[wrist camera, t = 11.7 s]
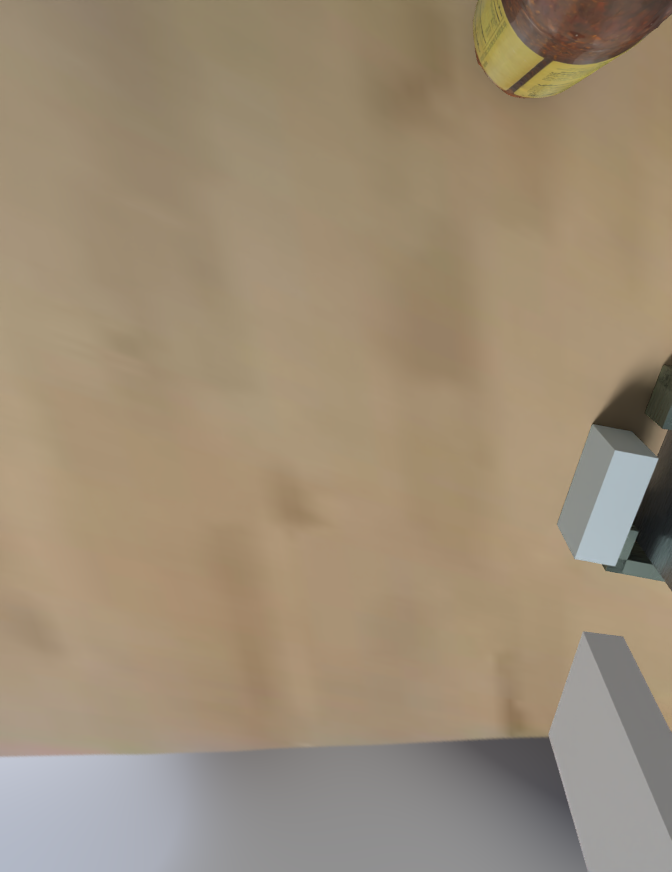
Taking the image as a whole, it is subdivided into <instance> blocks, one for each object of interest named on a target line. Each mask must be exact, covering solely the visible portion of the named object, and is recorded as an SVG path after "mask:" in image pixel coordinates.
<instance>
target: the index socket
mask: <svg viewBox="0 0 672 872" xmlns="http://www.w3.org/2000/svg"><path fill="white" fill-rule="evenodd" d="M645 414H646V415H648V416H649V417H650V418H651V419H652V420H653V421H654V422H655V423H657V424H658V425H659V426H660V427H661V428H662V429H668V430H672V366H667V365H663V367H662V370H661V372H660V375H659V378H658V380H657V383H656V385H655V388H654V391H653V393H652V396H651V398H650V401H649V404H648V406H647V409H646V412H645ZM638 533H639V531H638V530H637V529H636V527H635V526H634V524H633V523H632V526H631V528H630V531H629V533H628V536H627V538H626V541H625V543H624V546H623V548H622V551H621V553H620V556H619V558H618V561H617V563H616V566H610V565H605V564H602V565H603V567H604V569H605V571H610V572H615V573H621V574H626V575H632V576H637V577H642V578H648V579H653V580H659V581H664V579H663V578H662V576H661V575H660V574H659V572H658V571H657V569H656V568H655V567H654V565H653V564H652V562H651V561H650V559H649V558H648V557H647V555H646V554H645V552H644V551H643V549H642V548H641V547H640V545H639V544H638V543H635V540H636V537H637V535H638ZM664 582H665V581H664Z"/></svg>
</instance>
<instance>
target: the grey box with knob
mask: <svg viewBox="0 0 672 872" xmlns="http://www.w3.org/2000/svg"><path fill="white" fill-rule="evenodd" d="M657 457H658V458H659V459H658V461H657V464H656V466H655V469H654V471H653V474H652V476H651V479H650V481H649V484H648V486H647V489H646V491H645V494H644V496H643V499H642V501H641V504H640V506H639V509H638V511H637V513H636V516H635V518H634V521H633V524H634V526H635V527H636V529H637V530H638V531H639V533H638V535H637V537H636V541H637V542H638V544H639V545H640V547H641V548H642V549H643V551H644V552H645V554H646V555H647V557H648V558H649V559H650V561H651V562H652V564H653V565H654V567H655V568H656V569H657V571H658V572H659V574H660V575H661V576H662V578H663V579H664V581H665V582H666V584H667V585H668V586H669V588H670V589H671V591H672V430H668V431H667V434H666V436H665V439H664V441H663V443H662V446H661V448H660V451H659V453H658V456H657Z"/></svg>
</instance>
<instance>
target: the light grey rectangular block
mask: <svg viewBox="0 0 672 872" xmlns="http://www.w3.org/2000/svg"><path fill="white" fill-rule="evenodd" d="M658 459H659V458H658V457H657V456H656V455H655V454H654V453H653V452H652V451H651V450H650V449H649V448H648V447H647V446H646V445H645V444H644V443H643V442H642V441H641V440H640V439H639V438H638V437H637V436H636V435H635V434H634V433H633V432H632V431H627V430H622V429H616V428H611V427H605V426H600V425H595V424H592V426H591V429H590V432H589V435H588V438H587V441H586V443H585V446H584V449H583V452H582V455H581V458H580V461H579V463H578V466H577V469H576V472H575V475H574V478H573V480H572V483H571V486H570V489H569V492H568V495H567V498H566V500H565V503H564V506H563V509H562V512H561V515H560V517H559V520H558V523H557V525H558V527H559V529H560V531H561V533H562V535H563V537H564V539H565V541H566V543H567V545H568V547H569V549H570V551H571V553H572V555H573V557H574V559H578V560H583V561H589V562H594V563H599V564H605V565H610V566H616V563H617V561H618V558H619V556H620V553H621V551H622V548H623V546H624V543H625V541H626V538H627V536H628V533H629V531H630V528H631V526H632V523H633V521H634V518H635V516H636V513H637V511H638V509H639V506H640V504H641V501H642V499H643V496H644V494H645V491H646V489H647V486H648V484H649V481H650V479H651V476H652V474H653V471H654V469H655V466H656V464H657V461H658Z"/></svg>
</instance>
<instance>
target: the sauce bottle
mask: <svg viewBox="0 0 672 872" xmlns="http://www.w3.org/2000/svg"><path fill="white" fill-rule="evenodd" d="M671 14H672V0H478V2H477V5H476V10H475V14H474V19H473V34H474V42H475V52H476V57H477V61H478V64H479V65H480V66H481V67H482V69H483V70H484V72H485V74H486V75H487V77H489V79H490V80H491V81H492V82H493V83H495V84H496V86H497V87H499V88H501V89H502V90H503V91H504V92H505V93H506V94H508V95H510V96H513V97H519V98H540V97H548V96H553V95H556V94H558V93H561V92H563V91H565V90H566V89H568V88H570V87H571V86H573V85H574V84H576V83H578V82H579V81H581V80H582V79H584V78H586V77H587V76H589V75H590V74H592V73H593V72H595V71H596V70H598V69H599V68H601V67H603V66H604V65H606V64H607V63H609V62H610V61H612V60H614V59H615V58H617V57H618V56H620V55H622V54H623V53H625V52H627V51H628V50H629V49H631V48H632V47H634V46H635V45H637V44H638V43H639V42H641V41H642V40H643V39H644V38H645V37H646V36H647V35H648V34H649V33H651V32H652V31H653V30H654V29H656V28H658V27H659V25H660V24H661V23H662V22H663V21H664V20H665V19H667V18H668V17H669V16H670V15H671Z"/></svg>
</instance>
